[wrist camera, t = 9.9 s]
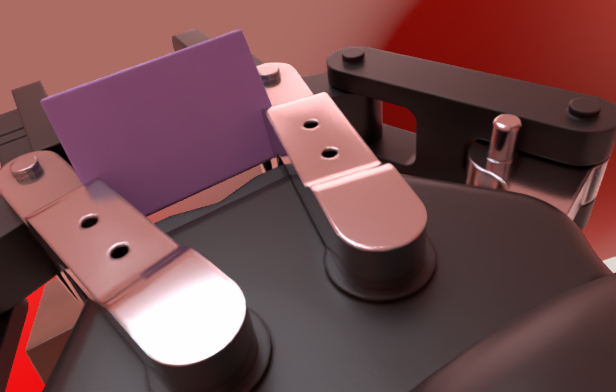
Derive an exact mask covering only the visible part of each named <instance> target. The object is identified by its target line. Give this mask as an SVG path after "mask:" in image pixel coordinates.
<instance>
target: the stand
mask: <svg viewBox="0 0 616 392" xmlns="http://www.w3.org/2000/svg"><path fill="white" fill-rule="evenodd" d="M81 311H82V308H81V307H80V306H79V304H78V303H77V302H76V301H75V299H74V298H73V297H72V296H71V295H70V293H69V292H68V291H67V290H66V288H65V287H64V286H63V285H62V283H61V282H60V281H59V280H58V279H57V278H56V279H53V280H51V281H49V282H47V283H46V284H45V287H44V291H43V294H42V297H41V301H40V304H39V308H38V311H37V314H36V317H35V320H34V324H33V327H32V330H31V334H30V337H29V340H28V344H27V347H26V354H27V356H28V357H29V359H30V361H31V362H32V364H33V366H34V368H35V369H36V371H37V373H38V375H39V376H40V378H41V380H42V381H43V383H44V384H45V385H46V383H47V381H48V379H49V377H50V374H51V372H52V370H53V368H54V366H55V364H56V362H57V360H58V358H59V356H60V354H61V352H62V350H63V348H64V346H65V344H66V341H67V339H68V337H69V335H70V333H71V331H72V329H73V327H74V325H75V323H76V321H77V319H78V317H79V315H80V313H81Z"/></svg>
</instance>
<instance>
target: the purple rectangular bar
mask: <svg viewBox="0 0 616 392" xmlns="http://www.w3.org/2000/svg"><path fill="white" fill-rule="evenodd" d="M40 103H41V105H42V107H43V109H44V111H45V113H46V115H47V117H48V119H49V121H50V123H51V125H52V127H53V129H54V131H55V133H56V135H57V137H58V139H59V141H60V143H61V145H62V146H63V148H64V150H65V152H66V154H67V156H68V158H69V160H70V162H71V164H72V166H73V168H74V170H75V172H76V174H77V176H78V178H79V180H80V182H81V184H82V185H83V184H85V183H87V182H89V181H91V180H92V179H94V178H96V177H99V178H100V179H102V180H103V181H104V182H105V183H106V184H108V185H109V186H110V187H111V188H112V189H114V190H115V191H116V192H117V193H118V194H119V195H121V196H122V197H123V198H124V199H125V200H127V201H128V202H129V203H130V204H131V205H132V206H134V207H135V208H136V209H137V210H138V211H140V212H141V213H142V214H143V215H144V216H145V217H147V216H149V215H151V214H153V213H155V212H158V211H160V210H162V209H164V208H166V207H169V206H171V205H173V204H175V203H177V202H179V201H182V200H184V199H186V198H188V197H190V196H192V195H195V194H197V193H199V192H201V191H203V190H205V189H208V188H210V187H212V186H214V185H216V184H219V183H221V182H223V181H225V180H227V179H229V178H232V177H234V176H236V175H238V174H240V173H242V172H245V171H247V170H249V169H251V168H253V167H256V166H258V165H260V164H262V163H264V162H266V161H269V160H271V159H273V158H274V155H273V151H272V148H271V144H270V141H269V137H268V134H267V130H266V127H265V123H264V120H263V116H262V112H261V109H263V108H267V107H270V106H272V104H271V102H270V99H269V97H268V94H267V92H266V89H265V87H264V84H263V82H262V79H261V77H260V74H259V72H258V70H257V67H256V65H255V62H254V60H253V57H252V55H251V52H250V50H249V47H248V45H247V42H246V40H245V38H244V35H243V33H242V31H241V30H240V29H238V30H235V31H232V32H229V33H226V34H223V35H221V36H218V37H215V38H213V39H209V40H207V41H204V42H201V43H198V44H195V45H192V46H190V47H187V48H184V49H181V50H178V51H176V52H173V53H170V54H167V55H164V56H161V57H159V58H156V59H153V60H150V61H147V62H145V63H142V64H139V65H137V66H133V67H131V68H128V69H125V70H122V71H119V72H116V73H114V74H111V75H108V76H105V77H102V78H100V79H97V80H94V81H91V82H88V83H85V84H83V85H80V86H77V87H74V88H72V89H69V90H66V91H63V92H60V93H58V94H55V95H52V96H49V97H46V98H43V99H42V100H41V101H40Z"/></svg>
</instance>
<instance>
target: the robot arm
mask: <svg viewBox="0 0 616 392" xmlns="http://www.w3.org/2000/svg"><path fill="white" fill-rule="evenodd" d="M209 39H211V38H210V37H208V36H207V35H206V34H204V33H203V32H202V31H201V30H199V29H198V28H195V29H192V30H189V31H186V32H183V33H180V34H177V35H174V36H172V42H173V47H174V50H175V52H176V51H178V50H181V49H184V48H187V47H190V46H192V45H195V44H198V43H201V42H204V41H207V40H209ZM251 55H252V54H251ZM252 57H253V60H254V62H255V65H256V67H257V70H258V72H259V74H260V77H261V79H262V82H263V84H264V87H265V89H266V92H267V94H268V97H269V99H270V102H271V104H272V106H270V107H267V108H263V109H261V112H262V116H263V120H264V123H265V127H266V130H267V134H268V137H269V141H270V144H271V148H272V151H273V155H274V158H273V159H271V160H269V161H266V162H264V163H262V164H260V166H261V170H262V172H263V174H261V175H258V176H256V177H254V178H253V179H252V180H250V181H249V182H247V183H246V184H244V185H243V186H242V187H240V188H239V189H237V190H236V191H235V192H233V193H232V194H230V195H229V196H228V197H226V198H225V199H223V200H222V201H220V202H218V203H215V204H212V205H209V206H205V207H201V208H198V209H194V210H191V211H187V212H184V213H180V214H177V215H173V216H169V217H167V218H165V219H163V220H161V221H158V222H156V223H152V222H151V221H150V220H149V219H148V218H146V217H145V216H144V215H143V214H142V213H141V212H140V211H138V210H137V209H136V208H135V207H134V206H132V205H131V204H130V203H129V202H128V201H127V200H125V199H124V198H123V197H122V196H121V195H119V194H118V193H117V192H116V191H115V190H114V189H112V188H111V187H110V186H109V185H108V184H106V183H105V182H104V181H103V180H102V179H100V178H99V177H96V178H94V179H92V180H91V181H89V182H87V183H85V184H83V185H82V184H81V182H80V180H79V178H78V176H77V174H76V172H75V170H74V168H73V166H72V164H71V162H70V160H69V158H68V156H67V154H66V152H65V150H64V148H63V146H62V145H61V143H60V141H59V139H58V137H57V135H56V133H55V131H54V129H53V127H52V125H51V123H50V121H49V119H48V117H47V115H46V113H45V111H44V109H43V107H42V105H41V103H40V101H41V100H42V99H43V98H46V97H48V95H47V93H46V91H45V89H44V87H43V85H42V83H41V81H37V82H34V83H31V84H28V85H25V86H22V87H19V88H16V89H13V90H11V91H12V94H13V97H14V100H15V103H16V106H17V109H16V110H13V111H10V112H7V113H4V114H1V115H0V162H1V169H0V392H5V390H6V386H7V382H8V379H9V375H10V372H11V368H12V365H13V361H14V358H15V354H16V351H17V347H18V343H19V340H20V336H21V333H22V329H23V326H24V322H25V319H26V315H27V312H28V301H27V299H26V297H27V296H29V295H30V294H31V293H32V292H34V291H35V290H37V289H38V288H39V287H41V286H42V285H43V284H45V283H46V282H47V281H49V280H50V279H51V278H53V277H54V276H56V277H57V279H58V280H59V281H60V282H61V283H62V285H63V286H64V287H65V288H66V290H67V291H68V292H69V293H70V295H71V296H72V297H73V298H74V299H75V301H76V302H77V303H78V304H79V306H80V307H81V308H82V311H81V313H80V315H79V317H78V319H77V321H76V323H75V325H74V327H73V329H72V331H71V333H70V335H69V337H68V339H67V341H66V344H65V346H64V348H63V350H62V352H61V354H60V356H59V358H58V360H57V362H56V364H55V366H54V368H53V370H52V372H51V374H50V377H49V379H48V381H47V383H46V385H45V387H44V389H43V391H42V392H616V273H613V272H612V271H611V270H610V269H609V268H608V267H607V266H606V265H605V264H604V263H603V262H602V261H601V259H600V258H599V257H598V255H597V254H596V253H595V251H594V250H593V249H592V247H591V245H590V244H589V242H588V240H587V239H586V237H585V235H584V234H583V232H582V231H581V230H582V229H583V228H584V227H585V226H586V224H587V222H588V219H589V217H590V213H591V211H592V208H593V205H594V202H595V199H596V196H597V193H598V190H599V187H600V184H601V182H602V178H603V176H604V173H605V170H606V167H607V164H608V161H609V158H610V155H611V152H612V149H613V146H614V144H615V140H616V105H615V104H613V103H611V102H609V101H607V100H605V99H602V98H599V97H595V96H591V95H586V94H582V93H577V92H573V91H568V90H563V89H559V88H554V87H549V86H545V85H540V84H535V83H530V82H526V81H522V80H517V79H512V78H508V77H503V76H498V75H494V74H489V73H485V72H480V71H475V70H471V69H466V68H461V67H457V66H452V65H448V64H443V63H438V62H434V61H429V60H424V59H420V58H415V57H411V56H406V55H401V54H397V53H392V52H387V51H382V50H378V49H374V48H368V47H362V46H353V47H346V48H342V49H339V50H337V51H334V52H333V53H331V54H330V55H329V56H328V57H327V60H326V64H327V72H322V73H318V74H313V75H307V76H300V75H299V74H298V72H297V71H296V70H295V68H294V67H292V66H291V65H288V64H285V63H266V64H264V63H263V62H261V61H260V60H259V59H257V58H256V57H255V56H253V55H252ZM382 101H384V102H388V103H391V104H395V105H399V106H402V107H405V108H407V109H409V110H410V111H411V112H412V113H413V114H414V116H415V118H416V123H417V126H416V133H412V132H409V131H406V130H402V129H399V128H396V127H393V126H389V125H386V124H383V123H382Z"/></svg>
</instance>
